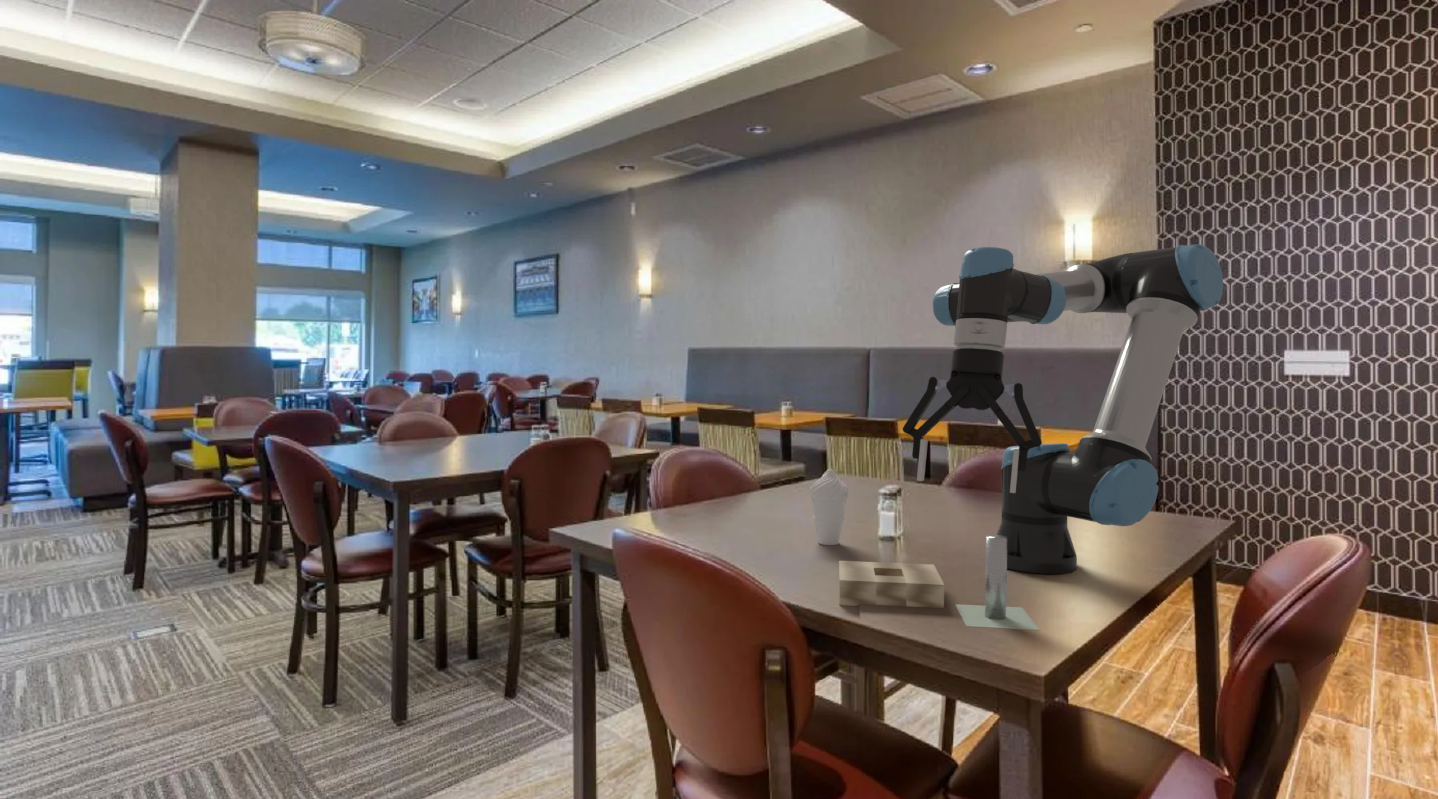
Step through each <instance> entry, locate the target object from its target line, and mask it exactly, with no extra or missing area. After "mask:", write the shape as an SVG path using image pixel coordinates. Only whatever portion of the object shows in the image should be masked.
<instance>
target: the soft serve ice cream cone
mask: <svg viewBox="0 0 1438 799" xmlns="http://www.w3.org/2000/svg"><path fill="white" fill-rule="evenodd" d="M808 494H809V496H810V498H811V504H812V510H813V511H812V514H813V516H812V519H813V521H814V526H815V531H816V536H817V542H818V544H819V545H823V546H837V545H839V543H840V538H841V533H842V529H843V525H844V524H843V523H844V520H845V509H846V508H845V506H846V504H847V499H848V497H849V496H848V495H849V488H848V486H847V485H846V484H845V483H844V482H842V481H841V479H840V477H839V475H838V474H837V473H836V472H835V470H833V469H832V468H829V469H826V471H824V473H823V474H822V476H821V477H820V478H819V479H817V480H816V481H815V482H814V483H813V484H811V485H810V487H809V492H808Z"/></svg>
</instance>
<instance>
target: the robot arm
mask: <svg viewBox="0 0 1438 799" xmlns="http://www.w3.org/2000/svg"><path fill="white" fill-rule="evenodd" d="M1014 266H1015V263H1014V254H1013V253H1012V252H1011V251H1010V250H1009V249H1005V248H1002V247H993V246H992V247H991V246H990V247H987V246H985V247H983V246H982V247H977V248H976V247H975V248H972V249H969V250H967V251H966V252H965V253H964V254H963V257H962V262H961V267H960V273H959V275H958V278H959V282H952V283H951V284H946V285H943V286H941V287H940V288H939V289H937V290H936V292H935V293H934V296H933V300H932V310H933V311H932V312H933V315H934V318H936V320H937V322H939V324H942V325H944V326H947V327H950V326H952V327H953V326H954V328H955V330H954V338H953V345H954V346H955V347H957V348H955V349H954V350H953V351H952V357H951V358H952V359H951V369H950V376H949V378H948V380H945V379H941V378H937V377H935V376H931V377H930V378H929V379H928V383H927V388H926V391H925V393H924V394H923V395H922V397H921V399H920V400H919V402H918V403H917V404H916V407H915V408H914V409H913V411H912V413H911V414H910V416H909V418H908V419H907V421H906V422H905V424H904V425H903V427H902V432H903V433H904V434H906V435H909V436H911V437H912V438H913V443H912V445H913V446H912V454H911V455H912V458H913V459H914V460H915V459H917V460H918V463H917V473H916V474H917V475H916V481H917V482H923V481H925V475H926V474H925V473H926V465H927V464H926V463H927V461H926V460H927V454H928V444H929V443H928V442H929V439H924V437H925V436H926V435H927V434H928V433H929V432H930V431H931V430H932V429H933V428H935V426H937V424H938V423H940V422H941V421H942V420H943V419H944V418H945V417H946V416H947V415H948V414H949V413H950V412H952V410H954V409H955V408H956V407H959V408H960V409H967V410H971V409H975V410H977V411H986V410H988V409H989V408H990V410H991V411H992V412H993V414H994V415H995V417H997V419H998V420H999V422H1000V423H1001V424H1002V425H1003V427H1004V428H1005V430H1006V431H1007V432H1008V434H1009V435H1010V436H1011V437H1012V439H1013V441H1014V442H1015V443H1016V444H1017V445H1013V446H1009V447H1006V448H1005V450H1004V451H1003V453H1002V454H1003V455H1002V462H1001V463H1002V464H1001V468H1000V469H1001V521H1000V523H999V524H1000V525H999V527H998V530H997V531H996V532H997V533H996V535H1002V536H1006V537H1007V570H1013V571H1018V572H1023V573H1031V574H1032V573H1033V574H1045V575H1046V574H1047V575H1048V574H1049V575H1053V574H1055V575H1056V574H1057V575H1058V574H1066V573H1071V572H1074V571H1076V570H1077V567H1078V566H1077V564H1078V559H1077V557H1078V556H1077V552H1076V550H1075V546H1074V543H1073V540H1072V537H1071V535H1070V531H1069V527H1068V517H1069V518H1074V519H1079V520H1083V521H1088V522H1093V523H1098V524H1099V525H1104V526H1117V527H1131V526H1133V525H1135V524H1137V523H1139V522H1141V521H1142V520H1143V519H1144V518H1145V517H1146V516H1147V515H1148V514H1149V513H1150V512H1151V510H1152V509H1153V507H1154V505H1155V503H1156V500H1157V497H1158V493H1159V485H1158V484H1157V483H1158V482H1159V476H1158V475H1159V474H1158V472H1157V470H1156V468H1155V466H1154V465H1152V464H1151V462H1152V461H1153V460H1152V456H1151V455H1150V453H1149V452H1148V450H1147V448H1146V446H1147V444H1148V443H1147V442H1148V441H1149V437H1150V434H1151V430H1152V428H1153V424H1154V422H1155V419H1156V415H1157V412H1158V409H1159V406H1160V404H1161V400H1162V397H1163V394H1164V391H1165V388H1166V386H1167V382H1168V380H1169V376H1170V375H1171V374H1170V373H1171V370H1172V369H1173V368H1172V367H1173V365H1174V362H1175V359H1176V355H1177V353H1178V349H1179V346H1180V343H1181V340H1182V337H1183V334H1184V332H1185V331H1186V330H1187V329H1191V328H1192V327H1194V326H1195V325H1196V324H1197V322H1198V320H1199V318H1200V317H1199V316H1200V313H1201V311H1202V310H1208V309H1210V308H1214V307H1216V306H1217V305H1218V304H1219V302H1220V301H1221V299H1222V297H1223V296H1222V295H1223V291H1224V278H1223V272H1222V268H1221V265H1220V262H1219V260H1218V257H1217V256H1216V255H1215V253H1214V252H1213V251H1212V250H1211V249H1210V248H1209V247H1207V246H1206V245H1203V244H1187V245H1183V244H1178V245H1176V246H1174V247H1173V246H1172V247H1167V248H1160V249H1158V248H1157V249H1152V250H1150V249H1149V250H1145V251H1137V252H1129V253H1128V252H1127V253H1121V254H1119V255H1113V256H1109V257H1107V258H1103V259H1099V260H1096V261H1092V262H1086V263H1080V264H1076V265H1073V266H1071V267H1070V268H1069V269H1068V270H1064V271H1054V272H1046V273H1038V274H1034V273H1029V272H1027V271H1022V270H1018V269H1016V268H1014ZM1064 311H1065V312H1066V311H1067V312H1068V311H1072V312H1073V313H1077V314H1087V313H1088V314H1089V313H1112V314H1127V315H1128V316H1129V317H1130V319H1131V321H1130V323H1129V326H1128V329H1127V332H1126V334H1125V338H1124V341H1123V344H1122V346H1121V350H1120V352H1119V354H1118V358H1117V361H1116V364H1115V367H1114V370H1113V373H1112V376H1111V378H1110V382H1109V383H1108V387H1107V390H1106V393H1105V395H1104V399H1103V402H1102V404H1101V406H1100V410H1099V412H1098V416H1097V419H1096V420H1095V425H1094V427H1093V431H1092V432H1091V433H1089V434H1087V435H1084V436H1082V437H1081V438H1080V439H1079V442H1078V445H1077V447H1076V451H1075V452H1071V449H1070V446H1069V444H1068V443H1063V442H1062V443H1044V444H1042V440H1041V438H1040V435H1039V433H1038V429H1037V428H1036V426H1035V423H1034V421H1033V418H1032V416H1031V413H1030V412H1029V410H1028V406H1027V404H1026V401H1025V400H1024V387H1023V384H1022V383H1020V382H1017V383H1015V384H1004V383H1003V371H1004V370H1003V369H1004V362H1005V361H1004V359H1005V354H1004V353H1003V352H1002V351H1001V350H1003V349H1004V348H1005V347H1006V338H1007V330H1008V323H1018V322H1020V323H1022V322H1027V323H1030V324H1031V325H1036V324H1037V325H1048V324H1051V323H1053V322H1055V321H1056V320H1057V319H1059V317H1060V316H1061V315H1062V314H1063V312H1064ZM944 388H946V389H947V391H948V392H949V394H950V396H951V397H950V398H948V400H946V401H945V402H944V403H943V405H941V407H939V409H938V410H936V411H935V412H934V413H933V414H932V415H931V416H930V417H929V418H928V419H927V420H926V421H925V422H924V423H922V425H920V426H919V427H918V429H917V428H916V426H917V424H918V423H919V421H920V420H921V419H922V417H923V416H924V413H925V412H926V411H927V409H928V408H929V406H930V404H931V402H932V401H933V400H934V398H935V396H936V394H937V393H941V392H942V390H943V389H944ZM1005 392H1006V393H1007V394H1008V397H1009V398H1010V399H1014V402H1015V404H1016V407H1017V409H1018V411H1019V414H1020V416H1021V419H1022V421H1023V423H1024V426H1025V428H1026V430H1027V433H1028V435H1029V438H1030V439H1029V440H1026V439H1025V438H1024V436H1023V435H1022V434H1021V433H1020V431H1019V430H1018V429H1017V427H1016V426H1015V424H1013V422H1012V421H1011V419H1010V418H1009V416H1007V414H1006V413H1005V411H1004V410H1003V409H1002V407H1001V406H1000V405H999V403H998V402H997V400H998V399H999V398H1000V397H1001V396H1002V395H1003V394H1004V393H1005Z"/></svg>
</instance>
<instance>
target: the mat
mask: <svg viewBox="0 0 1438 799" xmlns="http://www.w3.org/2000/svg"><path fill="white" fill-rule="evenodd" d="M954 605H955V606H956V609H957V611H958V613H959V614H960V617H961V619H962V621H963V622H964V625H965V626H966V628H967V627H973V628H991V629H1008V630H1024V631H1026V630H1027V631H1029V630H1030V631H1040V628H1039V627H1038V626H1037V624H1036V623H1035V622H1034V621H1033V619H1032V618H1031V616H1030V615H1029V614H1028V613H1027V612H1026V611H1025V609H1024V608H1023V607H1019V606H1016V607H1015V606H1006V619H1003V620H994V619H990V618H987V617H985V605H978V604H976V605H973V604H958V603H957V604H954Z"/></svg>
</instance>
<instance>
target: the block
mask: <svg viewBox="0 0 1438 799" xmlns="http://www.w3.org/2000/svg"><path fill="white" fill-rule="evenodd" d="M838 596H839V598H838V599H839V602H838V604H839V606H846V607H847V606H849V607H851V606H852V607H860V605H875V606H891V607H892V606H893V607H894V606H895V607H911V608H912V607H916V608H917V607H918V608H935V609H938V608H939V609H944V608H945V584H944V581H943V579H942V577H941V576H940V573H939V572H938V570H937V567H936V566H935V564H932V563H931V564H928V563H927V564H926V563H909V562H908V563H907V562H906V563H904V562H879V561H856V560H855V561H853V560H852V561H851V560H839V561H838Z"/></svg>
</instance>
